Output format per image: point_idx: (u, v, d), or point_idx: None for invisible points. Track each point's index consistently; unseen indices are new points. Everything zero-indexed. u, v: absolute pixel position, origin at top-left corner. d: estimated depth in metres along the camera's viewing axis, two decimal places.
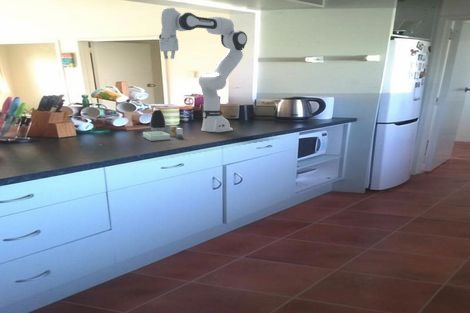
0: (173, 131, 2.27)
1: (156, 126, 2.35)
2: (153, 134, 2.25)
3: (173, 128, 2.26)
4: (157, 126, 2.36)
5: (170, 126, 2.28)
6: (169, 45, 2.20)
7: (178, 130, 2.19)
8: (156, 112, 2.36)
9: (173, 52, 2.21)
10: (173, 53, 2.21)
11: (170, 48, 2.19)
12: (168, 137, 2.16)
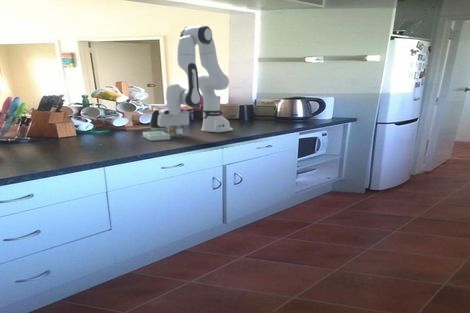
0: (173, 131, 2.27)
1: (156, 126, 2.35)
2: (153, 134, 2.25)
3: (173, 128, 2.26)
4: (157, 126, 2.36)
5: (170, 126, 2.28)
6: (182, 120, 2.29)
7: (178, 130, 2.19)
8: (156, 112, 2.36)
9: None
10: None
11: (183, 123, 2.30)
12: (168, 137, 2.16)
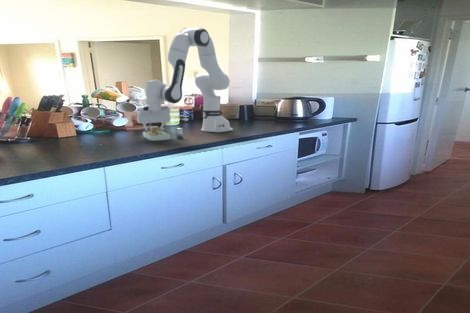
0: (153, 132, 2.19)
1: None
2: None
3: (153, 128, 2.19)
4: (157, 126, 2.36)
5: None
6: (163, 117, 2.21)
7: (178, 130, 2.19)
8: None
9: None
10: None
11: (164, 120, 2.22)
12: (168, 137, 2.16)
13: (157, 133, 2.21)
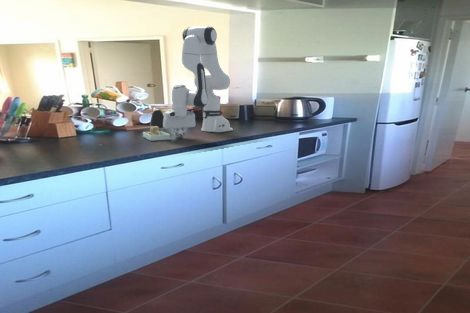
0: (153, 132, 2.19)
1: None
2: None
3: (153, 128, 2.19)
4: (157, 126, 2.36)
5: None
6: (188, 122, 2.21)
7: (178, 130, 2.19)
8: (156, 112, 2.36)
9: None
10: None
11: (190, 125, 2.22)
12: (168, 137, 2.16)
13: (157, 133, 2.21)
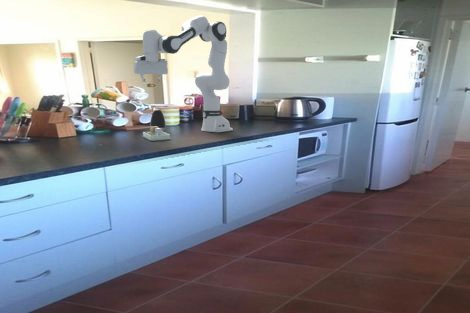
0: (153, 132, 2.19)
1: None
2: None
3: (153, 128, 2.19)
4: (157, 126, 2.36)
5: None
6: (160, 69, 2.19)
7: (157, 130, 2.14)
8: (156, 112, 2.36)
9: None
10: None
11: (161, 72, 2.20)
12: (168, 137, 2.16)
13: None
